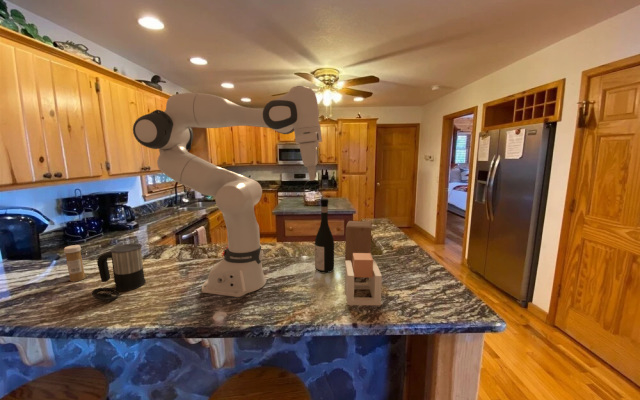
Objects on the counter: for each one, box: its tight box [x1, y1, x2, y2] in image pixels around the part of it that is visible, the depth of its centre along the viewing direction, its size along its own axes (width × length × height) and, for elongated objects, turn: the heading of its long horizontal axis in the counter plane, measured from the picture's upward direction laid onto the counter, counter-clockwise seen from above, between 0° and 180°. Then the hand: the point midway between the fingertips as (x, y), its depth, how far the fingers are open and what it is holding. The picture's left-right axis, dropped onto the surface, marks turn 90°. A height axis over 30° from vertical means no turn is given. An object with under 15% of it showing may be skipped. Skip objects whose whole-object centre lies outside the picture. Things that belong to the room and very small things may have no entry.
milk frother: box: [91, 243, 147, 302], centre depth 91 cm, size 14×16×15 cm
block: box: [352, 253, 374, 278], centre depth 87 cm, size 6×6×6 cm
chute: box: [344, 260, 383, 306], centre depth 88 cm, size 11×12×10 cm
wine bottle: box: [314, 198, 335, 274], centre depth 106 cm, size 8×8×30 cm
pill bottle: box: [63, 244, 86, 283], centre depth 100 cm, size 5×5×13 cm
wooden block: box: [344, 220, 373, 266], centre depth 107 cm, size 10×10×20 cm
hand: (313, 178), depth 89 cm, fingers open, 8 cm apart
